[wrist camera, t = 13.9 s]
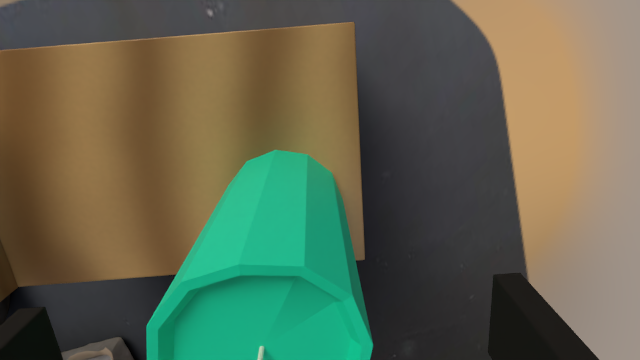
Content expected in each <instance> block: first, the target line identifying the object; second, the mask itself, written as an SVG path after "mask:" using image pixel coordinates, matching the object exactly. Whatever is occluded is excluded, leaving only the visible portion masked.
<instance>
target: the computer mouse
mask: <svg viewBox="0 0 640 360" xmlns="http://www.w3.org/2000/svg"><path fill="white" fill-rule="evenodd" d="M9 304H10V294H9V295H8V296H7V297H6V298H4V299H3V300H2V301H1V302H0V325H1V324H3V323H4V321H5V319H6V317H7V314H8V310H9Z"/></svg>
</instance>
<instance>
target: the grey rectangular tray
mask: <svg viewBox="0 0 640 360" xmlns="http://www.w3.org/2000/svg"><path fill="white" fill-rule="evenodd" d="M61 354H62V357H63V360H134V359H133V357H132V356H131V353H130V351H129V349H128V348H127V346H126V345H125V343H124V341H123V339H122V338H121V337H116V338H111V339H107V340H104V341H101V342H96V343H90V344H88V345H85V346H83V347H79V348H76V349H72V350H69V351H65V352H62V353H61Z"/></svg>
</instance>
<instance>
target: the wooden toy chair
mask: <svg viewBox="0 0 640 360" xmlns="http://www.w3.org/2000/svg"><path fill="white" fill-rule="evenodd" d="M274 150H281V151H288V152H295V153H303V154H308V155H309V156H311V157H312V158H313V159H314V160H316V161H317V162H318V163H320V164H321V165H322V166H324V167H325V168H326V169H328V170H329V171H330V172H332V174H333V176H334V179H335V181H336V184H337V186H338V189H339V191H340V194H341V196H342V199H343V203H344V207H345V212H346V217H347V222H348V226H349V231H350V236H351V241H352V246H353V250H354V255H355V260H365V249H364V227H363V204H362V181H361V158H360V135H359V113H358V90H357V67H356V44H355V23H354V22H348V23H335V24H323V25H310V26H298V27H285V28H273V29H260V30H248V31H235V32H223V33H210V34H198V35H185V36H173V37H160V38H148V39H135V40H123V41H110V42H98V43H85V44H73V45H60V46H48V47H35V48H23V49H10V50H0V302H1V301H2V300H3V299H4V298H6V297H7V296H8V295H9V294H10V293H12V292H13V291H14V290H15V289H17V288H18V287H22V286H34V285H47V284H60V283H73V282H86V281H99V280H112V279H125V278H137V277H150V276H163V275H176V274H177V273H178V271H179V269H180V268H181V266H182V264H183V262H184V261H185V259H186V257H187V256H188V254H189V252H190V250H191V249H192V247H193V245H194V244H195V242H196V240H197V238H198V237H199V235H200V233H201V232H202V230H203V228H204V226H205V225H206V223H207V221H208V220H209V218H210V216H211V214H212V213H213V211H214V209H215V208H216V206H217V204H218V202H219V201H220V199H221V197H222V195H223V194H224V192H225V190H226V189H227V187H228V185H229V184H230V182H231V181H232V180H233V179H234V177H235V176H236V175H237V173H238V172H239V171H240V169H241V168H242V167H243V165H244V164H245V163H246V162H247V161H249V160H251V159H254V158H256V157H259V156H261V155H264V154H266V153H269V152H271V151H274Z"/></svg>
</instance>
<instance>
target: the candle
mask: <svg viewBox="0 0 640 360" xmlns="http://www.w3.org/2000/svg"><path fill="white" fill-rule="evenodd" d="M146 333H147V360H370V357H371V353H372V349H373V342H372V337H371V332H370V327H369V322H368V318H367V313H366V308H365V303H364V298H363V294H362V289H361V284H360V279H359V274H358V270H357V265H356V260H355V255H354V250H353V246H352V241H351V236H350V231H349V226H348V222H347V217H346V212H345V207H344V203H343V199H342V196H341V194H340V191H339V189H338V186H337V184H336V181H335V179H334V176H333V174H332V172H330V171H329V170H328V169H326V168H325V167H324V166H322V165H321V164H320V163H318V162H317V161H316V160H314V159H313V158H312V157H311V156H309V155H308V154H303V153H295V152H288V151H281V150H274V151H271V152H269V153H266V154H264V155H261V156H259V157H256V158H254V159H251V160H249V161H247V162H246V163H245V164H244V165H243V167H242V168H241V169H240V171H239V172H238V173H237V175H236V176H235V177H234V179H233V180H232V181H231V182H230V184H229V185H228V187H227V189H226V190H225V192H224V194H223V195H222V197H221V199H220V201H219V202H218V204H217V206H216V208H215V209H214V211H213V213H212V214H211V216H210V218H209V220H208V221H207V223H206V225H205V226H204V228H203V230H202V232H201V233H200V235H199V237H198V238H197V240H196V242H195V244H194V245H193V247H192V249H191V250H190V252H189V254H188V256H187V257H186V259H185V261H184V262H183V264H182V266H181V268H180V269H179V271H178V273H177V275H176V276H175V278H174V280H173V281H172V283H171V285H170V287H169V288H168V290H167V292H166V293H165V295H164V297H163V299H162V300H161V302H160V304H159V305H158V307H157V309H156V311H155V312H154V314H153V316H152V317H151V319H150V321H149V323H148V324H147V326H146Z"/></svg>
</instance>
